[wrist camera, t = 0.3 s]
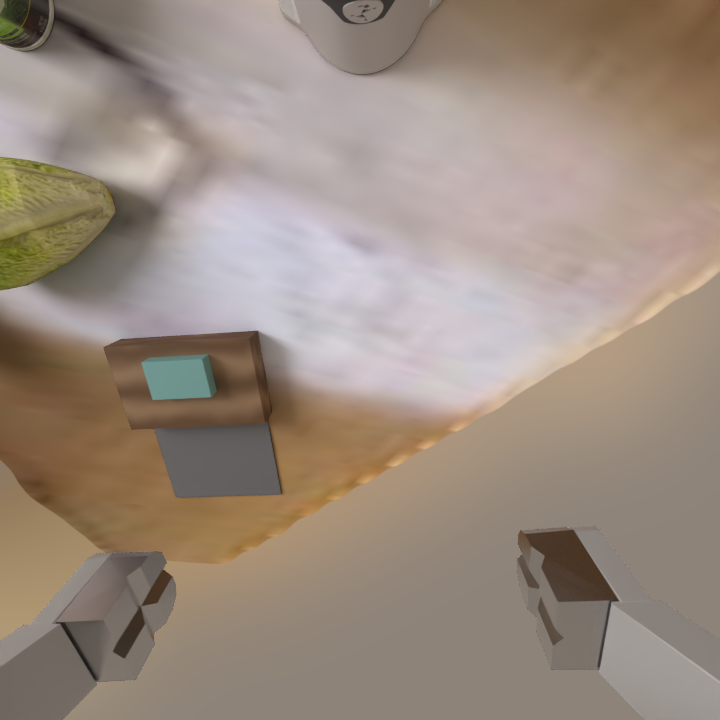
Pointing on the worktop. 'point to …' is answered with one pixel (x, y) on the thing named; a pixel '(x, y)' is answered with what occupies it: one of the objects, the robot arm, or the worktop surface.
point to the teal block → (179, 377)
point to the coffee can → (25, 23)
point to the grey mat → (220, 460)
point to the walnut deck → (226, 407)
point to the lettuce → (46, 218)
